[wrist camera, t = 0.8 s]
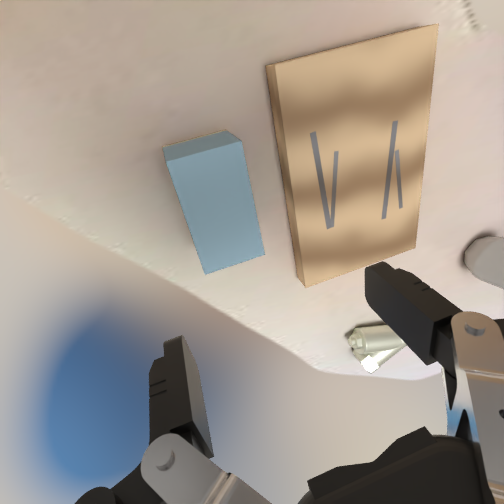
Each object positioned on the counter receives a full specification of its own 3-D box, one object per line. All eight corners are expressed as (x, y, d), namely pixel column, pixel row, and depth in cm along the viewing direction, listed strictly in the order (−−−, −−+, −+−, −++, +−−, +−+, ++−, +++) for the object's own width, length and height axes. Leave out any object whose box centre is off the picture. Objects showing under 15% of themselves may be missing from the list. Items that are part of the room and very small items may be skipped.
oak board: (265, 65, 23) (274, 65, 21) (418, 26, 24) (438, 23, 23) (297, 277, 33) (305, 288, 32) (402, 239, 35) (415, 247, 34)
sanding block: (162, 146, 23) (165, 161, 19) (225, 129, 24) (241, 141, 20) (196, 245, 28) (205, 274, 24) (247, 228, 29) (264, 254, 25)
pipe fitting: (336, 334, 41) (359, 357, 44) (351, 356, 38) (375, 379, 41) (384, 296, 40) (404, 322, 43) (404, 314, 37) (424, 341, 40)
